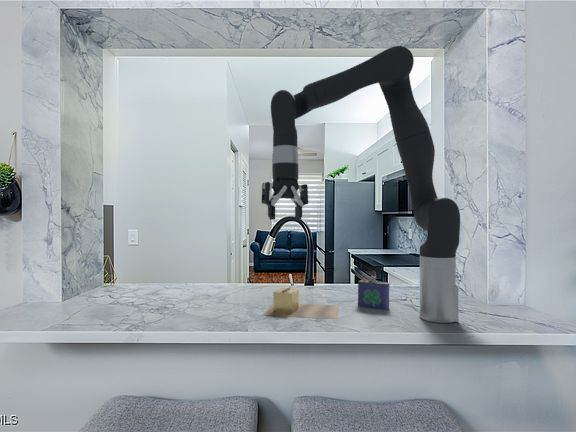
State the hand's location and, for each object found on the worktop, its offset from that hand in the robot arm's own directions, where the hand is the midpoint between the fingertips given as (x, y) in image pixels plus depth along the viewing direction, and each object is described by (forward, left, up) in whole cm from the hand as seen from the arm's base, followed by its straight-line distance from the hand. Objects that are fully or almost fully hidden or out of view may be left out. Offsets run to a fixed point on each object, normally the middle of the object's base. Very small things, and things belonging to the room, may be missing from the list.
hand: (285, 219), depth 100 cm
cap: (0, +1, -26) cm, 26 cm away
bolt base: (-5, 0, -27) cm, 28 cm away
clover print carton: (-25, -7, -28) cm, 38 cm away
